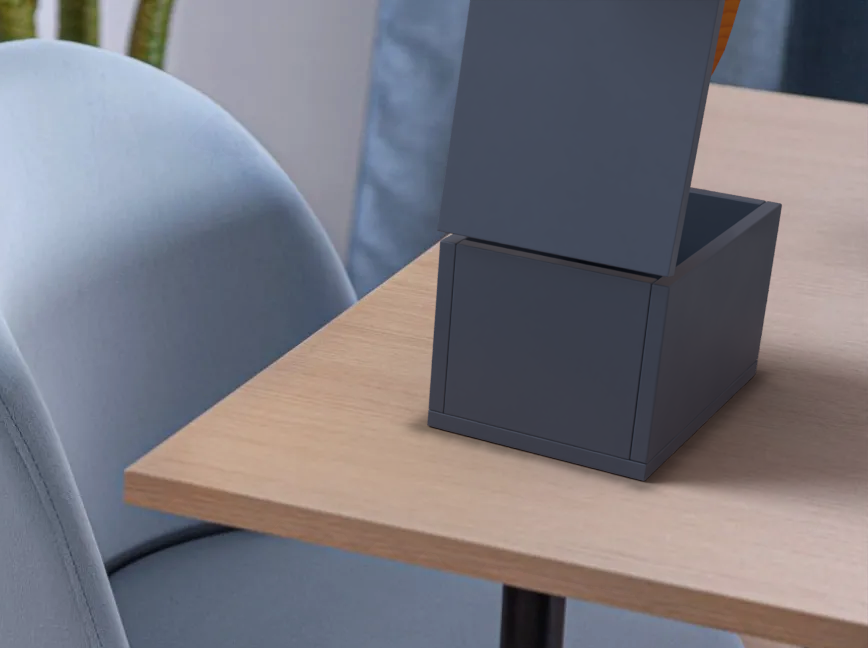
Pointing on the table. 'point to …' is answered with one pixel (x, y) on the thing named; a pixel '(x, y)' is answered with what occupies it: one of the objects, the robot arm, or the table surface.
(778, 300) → the table surface
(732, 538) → the table surface
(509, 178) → the lid
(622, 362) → the chest
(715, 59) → the carrot
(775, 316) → the table surface
